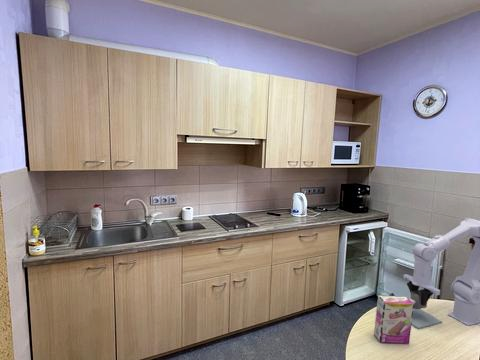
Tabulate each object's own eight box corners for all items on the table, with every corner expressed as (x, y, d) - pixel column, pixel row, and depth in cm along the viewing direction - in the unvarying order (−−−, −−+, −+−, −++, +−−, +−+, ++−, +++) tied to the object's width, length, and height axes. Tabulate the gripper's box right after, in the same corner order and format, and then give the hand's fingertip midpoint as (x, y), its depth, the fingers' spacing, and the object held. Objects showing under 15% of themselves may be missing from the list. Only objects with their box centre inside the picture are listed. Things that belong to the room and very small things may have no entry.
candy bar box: (380, 344, 94) (384, 302, 92) (373, 334, 99) (376, 294, 97) (410, 345, 94) (414, 303, 92) (401, 335, 99) (405, 295, 97)
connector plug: (420, 302, 112) (421, 289, 111) (428, 306, 109) (430, 293, 108) (404, 305, 109) (405, 292, 108) (412, 310, 106) (413, 297, 105)
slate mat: (416, 308, 117) (416, 306, 117) (441, 323, 107) (441, 321, 107) (393, 313, 113) (393, 311, 113) (417, 329, 102) (418, 327, 102)
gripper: (399, 266, 113) (396, 294, 115) (432, 281, 100) (429, 313, 101) (410, 264, 116) (408, 292, 117) (445, 279, 102) (441, 310, 103)
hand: (418, 302), depth 109 cm, fingers closed on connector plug, 4 cm apart
